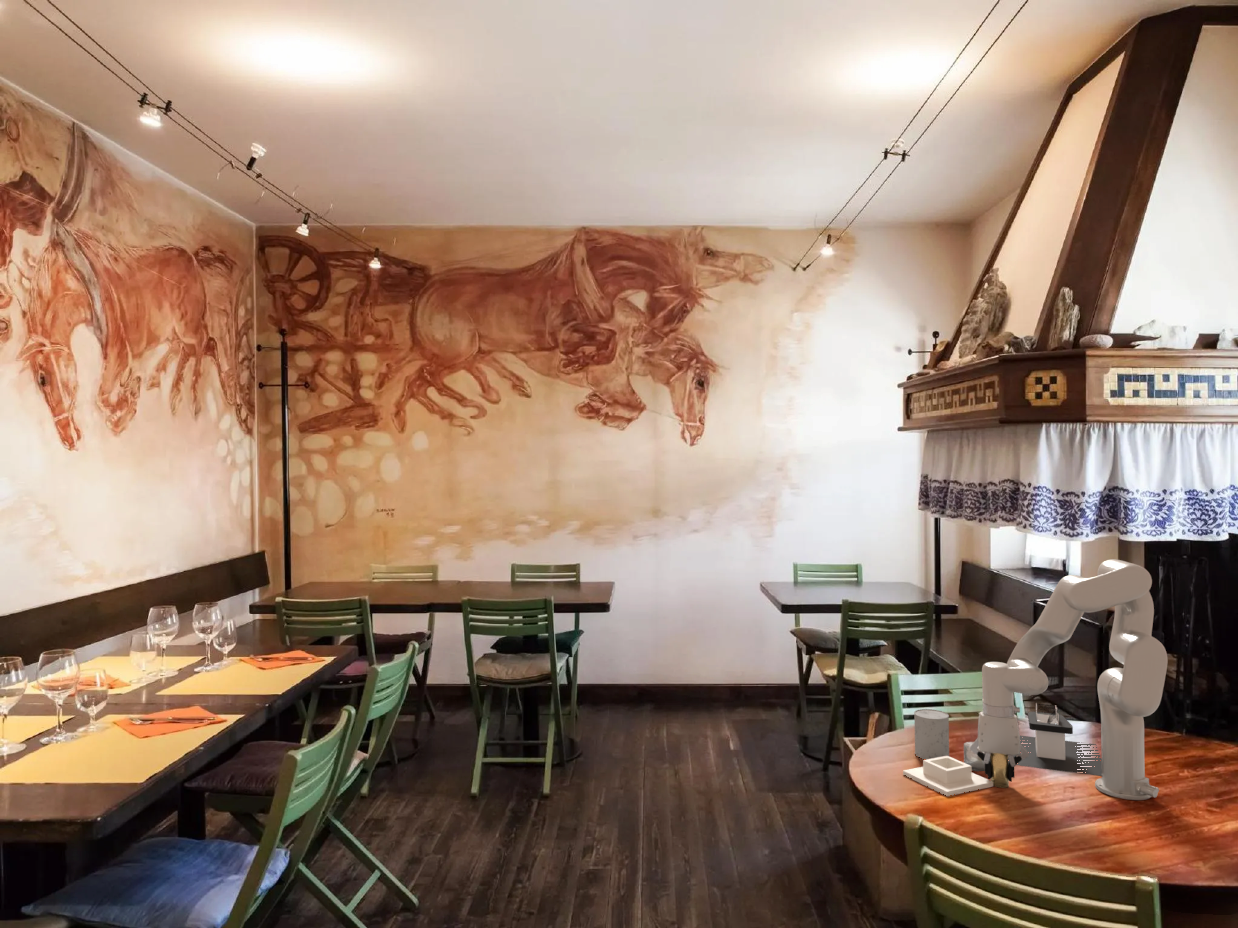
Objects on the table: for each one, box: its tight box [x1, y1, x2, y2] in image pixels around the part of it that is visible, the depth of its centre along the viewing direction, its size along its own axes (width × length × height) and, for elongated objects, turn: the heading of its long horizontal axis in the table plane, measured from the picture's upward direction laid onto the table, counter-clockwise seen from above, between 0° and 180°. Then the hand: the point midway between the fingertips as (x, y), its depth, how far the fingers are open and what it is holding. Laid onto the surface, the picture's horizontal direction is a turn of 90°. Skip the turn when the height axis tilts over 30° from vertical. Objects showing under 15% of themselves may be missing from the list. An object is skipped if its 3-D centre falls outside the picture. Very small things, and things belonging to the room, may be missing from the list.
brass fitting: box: [990, 753, 1010, 789], centre depth 215 cm, size 4×4×9 cm
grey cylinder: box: [913, 708, 950, 760], centre depth 237 cm, size 10×10×12 cm
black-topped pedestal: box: [1008, 702, 1102, 777], centre depth 237 cm, size 28×26×13 cm
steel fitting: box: [963, 741, 985, 772], centre depth 228 cm, size 7×7×6 cm
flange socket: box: [902, 755, 994, 797], centre depth 218 cm, size 16×16×5 cm
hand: (999, 777), depth 214 cm, fingers closed on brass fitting, 4 cm apart
